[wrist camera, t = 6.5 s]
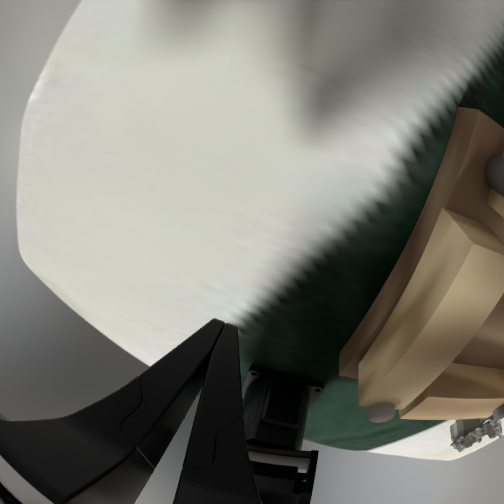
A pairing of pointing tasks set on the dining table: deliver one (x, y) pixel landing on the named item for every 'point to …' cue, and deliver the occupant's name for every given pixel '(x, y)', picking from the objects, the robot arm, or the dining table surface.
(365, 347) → the wooden slat frame
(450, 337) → the hinged leg
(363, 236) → the dining table surface
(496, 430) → the grey jagged rock
